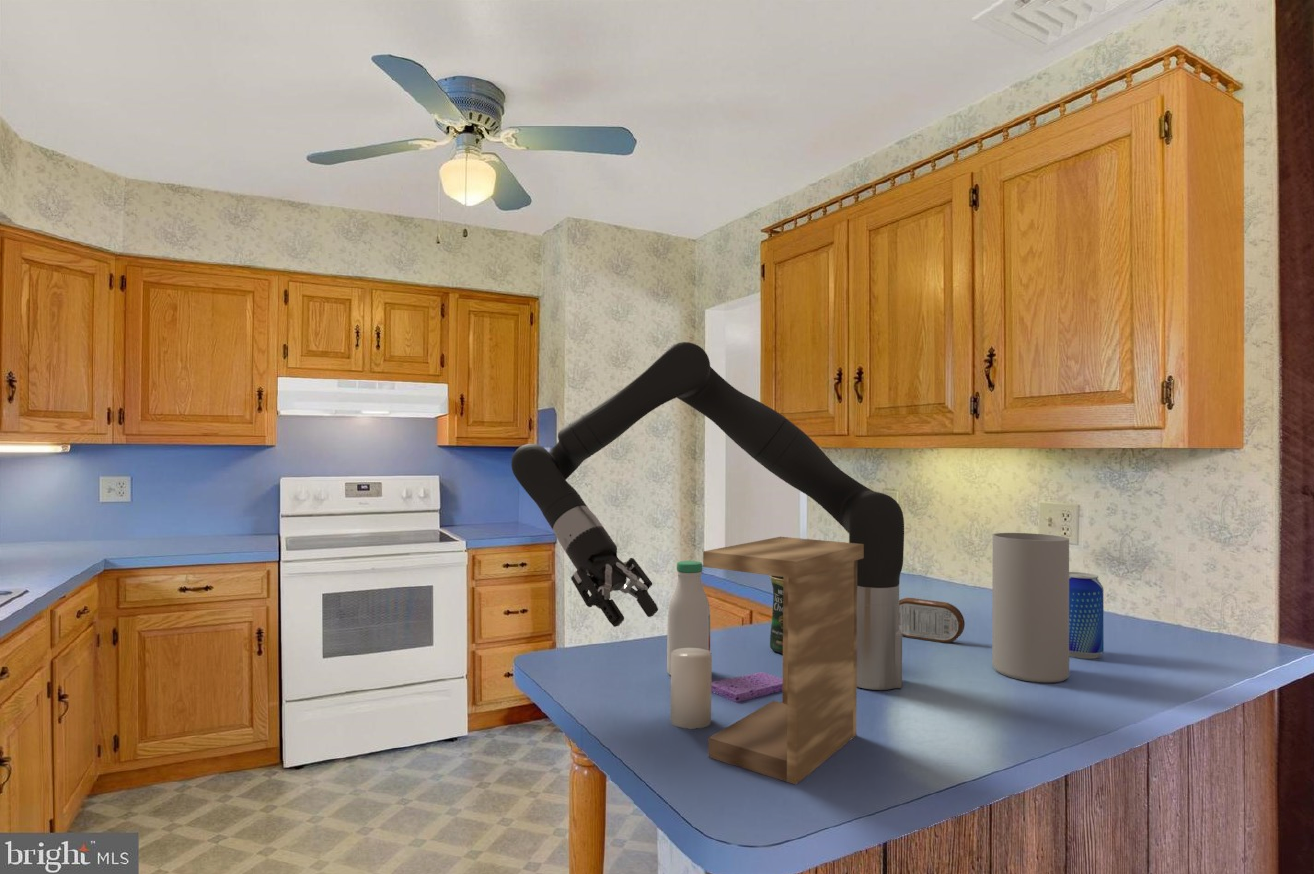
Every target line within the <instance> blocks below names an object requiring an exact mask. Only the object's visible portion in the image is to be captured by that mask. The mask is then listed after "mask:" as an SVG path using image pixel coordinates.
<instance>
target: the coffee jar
mask: <svg viewBox="0 0 1314 874" xmlns="http://www.w3.org/2000/svg"><path fill="white" fill-rule="evenodd" d="M770 581H771V585H772V591H773V593H772V594H773V596H772V597H773V598H772V600H773V601H772V615H771V626H770V634H769V635H770V637H769V647H770V649H771V650H772V651H773V652H774V651H775V652H777V653H779V654H782V655H783V577H780V576H772V575H770Z"/></svg>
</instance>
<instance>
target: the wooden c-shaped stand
mask: <svg viewBox="0 0 1314 874" xmlns="http://www.w3.org/2000/svg"><path fill="white" fill-rule="evenodd" d="M862 558H864V544H857V543H849V542H846V541H833V540H832V541H831V540H821V539H811V538H800V537H798V538H797V537H788V536H787V537H786V536H776V537H771V538H767V539H762V540H755V541H751V542H745V543H741V544H736V545H729V546H724V547H718V548H714V549H710V550H709V549H707V550H704V551H703V552H702V568H711V569H717V570H726V571H733V572H740V573H741V572H742V573H749V574H750V573H751V574H757V575H766V576H771V575H772V576H780V577H783V654H782V679H783V691H782V698H781V699H782V702H781V701H776V700H772V701H770V702H769V703H767V704H765V705H763V706H761V707H760V708H758V709H756V710H754V711H753V712H750V713H749V714H747V715H746V716H744V717H743V718H741V719H739V720H737V721H735V722H733V723H731V724H730V725H729V726H727V727H725V728H723V729H722V730H720V731H718V732H716V733H714V734H713V735H710V736H709V737H708V756H707V757H708V758H710V759H714V760H717V761H720V762H723V763H726V764H729V765H733V766H736V767H738V768H743V769H745V770H749V771H751V772H755V773H757V774H761V775H764V776H768V777H770V778H774V779H777V780H781V781H784V782H787V783H790V784H793V785H797V784H798V783H800V782H801V781H802V780H803V779H804V778H806V777H807V776H809V774H811V773H812V772H813V771H815V770H816V769H817V768H818V767H819V766H821V765H822V764H823V763H824V762H826V760H828V759H829V758H830V757H832V756H833V755H834V754H835V753H837V752H838V751H839V750H841V749H842V748H843V747H844V746H845V745H846V744H848V743H849V742H850V741H851V740H852V739H854V738H855V737H857V715H858V714H857V706H858V704H857V702H858V701H857V699H858V698H857V697H858V695H857V694H858V693H857V692H858V691H857V689H858V687H857V560H859V559H862ZM854 736H855V737H854ZM853 737H854V738H853ZM851 738H852V739H851ZM850 739H851V740H850ZM849 740H850V741H849ZM848 741H849V742H848ZM847 742H848V743H847ZM837 750H838V751H837ZM831 755H832V756H831Z"/></svg>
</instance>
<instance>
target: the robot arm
mask: <svg viewBox="0 0 1314 874" xmlns="http://www.w3.org/2000/svg"><path fill="white" fill-rule="evenodd" d="M674 399H677V400H680V401H681V402H683V403H685V404H686V405H688V406H689V407H691V408H693V409H694V410H696V411H697V412H698V413H700V414H702V415H703V416H705V417H707V418H708V419H709V420H710V421H711V422H713V423H714V424H715V425H716V426H717V427H719V429H720V430H721V431H723V433H724V434H726V436H727V437H728V438H729V439H731V441H732V442H734V444H736V445H737V446H738V447H739V448H741V449H742V450H743V451H744V452H745V453H747V455H749V456H750V457H751V458H752V459H754V460H755V461H756V462H758V464H760V465H761V466H763V468H765V469H766V470H768V471H769V472H770V473H772V474H773V475H775V476H776V478H777V477H778V479H780V480H782V481H784V482H785V483H786V484H788V485H789V486H791V487H793V488H794V489H797V490H798V491H799V492H801V493H803V494H805V495H806V496H808V497H809V498H811V499H812V500H813V501H814V502H816V504H818V505H820V506H821V507H822V508H823V509H824V510H825V512H827V513H828V514H829V515H830V516H831V517H833V519H835V520H836V522H837V523H838V524H839V525H840V526H842V528H843V529H844V530H845V531H846V532H847V533H848V536H849V537H848V543H857V544H864V558H862V559H859V560H857V688H859V689H860V688H862V689H866V690H874V691H876V690H877V691H886V690H891V689H902V688H903V635H902V632H901V631H900V629H899V600H900V579H901V578H900V577H901V573H902V570H903V567H904V566H903V565H904V553H905V552H904V548H905V543H904V542H905V518H904V513H903V510H902V507H901V506H900V504H899V503H898V502H897V500H896V499H895V498H893V497H892V496H890V495H888V494H887V493H882V492H879V491H874V490H873V489H870V488H869V487H867V486H865V485H864V484H862V483H860V482H859V481H857V480H856V479H854V478H852V477H851V475H848V474H847V473H845V472H844V471H843V470H841V469H840V468H839V467H838V466H837V465H836V464H835V463H834V462H833V461H832V460H831V459H830V458H829V457H828V455H827V454H826V453H825V452H824V451H823V450H822V449H821V448H820V447H819V445H818V444H817V443H816V442H814V440H813V439H812V438H811V437H810V436H809V435H807V434H806V433H805V431H803V430H801V428H799V427H798V426H797V425H795V424H794V423H793V422H792V421H790V420H789V419H788V418H786V417H785V416H784V415H782V414H781V413H779V412H778V411H776V410H774V409H773V408H771V407H770V406H768V405H766V404H764V403H762V402H760V401H758V400H757V399H754V397H753V398H752V397H750V396H748V395H747V394H745V393H743V392H741V391H740V390H738V389H737V388H735V387H734V386H733V385H731V384H730V382H728V381H727V380H726V379H724V378H723V377H722V376H721V375H720V374H719V373H718V372H716V370H715V369H714V368H713V367H711V362H710V359H709V355H708V354H707V351H705V350H704V349H703V348H702V347H701V346H700V345H698V344H696V343H693V342H689V341H683V342H677V343H674V344H671V345H670V346H669V347H667V349H665V350H664V352H663V353H662V354H661V355H660V356H659V357H658V358H657V359H656V360H654V362H653V363H651V364H650V365H649V366H648V368H646V369H645V370H644V371H643V372H641V373H640V374H639V375H638V376H637V377H636V378H635V379H633V380H632V381H631V382H629V383H627V385H625V386H624V387H622V388H621V389H620V390H618V391H617V392H614V393H613V394H612V395H610V396H609V397H607V398H605V399H604V400H603V401H601V402H599V403H598V404H596V405H594V406H593V407H592V408H590V409H589V410H587V411H586V412H584V413H582V414H580V415H579V416H577V417H576V418H575V419H573V420H572V421H570V422H569V423H568V424H565V426H563V427H562V428H561V429H560V430H559V432H558V433H557V439H558V442H557V443H556V444H555V445H554V446H553V447H552V448H550V450H547V449H546V448H544V447H543V446H541V445H540V444H536V443H526V444H523V445H521V446H519V447H518V448H517V449H516V450H515V452H514V453H513V455H512V457H511V463H510V464H511V470H512V474H513V475H514V477H515V478H516V480H517V481H518V483H519V485H520V486H521V487H522V488H523V489H524V491H525V492H526V493H527V495H528V496H530V498H531V499H532V501H534V503H535V504H536V505H537V507H538V509H540V511H541V513H542V516H543V517H544V519H545V520H546V522H547V523H548V525H549V526H550V527H551V529H552V531H553V533H554V534H555V537H556V538H557V539H556V540H557V541H558V543H559V544H560V546H561V548H562V549H563V550H564V552H565V554H566V555H567V557H568V558H569V560H570V561H571V563H572V564H573V566H574V567H575V570H576V571H575V572H574V573H573V575H572V576H571V577H570V579H571V581H572V583H573V584H574V587H575V588H576V590H577V592H578V593H579V595H580V597H581V598H582V601H584V603H585V605H586V606H587V607H588V608H592V607H596V608H598V609H599V610H601V611H602V613H603V614H604V616H605V618H606V619H607V621H608V622H609V623H610V624H611V625H612V626H613V628H616V627H619V626H620V625H621V624H622V623H623V622H624V621H625V616H624V615H623V613H622V611H621V610H620V608H619V606H617V603H615V601H614V599H611V592H612V591H620V592H621V593H623V594H629V595H630V596H632V597H633V598H635V599H636V601H637V604H638V605H639V607H640V608H641V609H642V610H643V612H644V614H645V615H646V617H648V618H652V617H654V615H655V614H656V613H657V612H658V611H659V608H658V605H657V603H656V602H655V600H654V599H653V598H652V596H651V594H650V593H649V592H648V590H649V589H650V588H651V587H652V586H653V582H652V580H651V579H650V578H649V577H648V575H647V574H646V572H644V570H643V569H642V567H641V566H640V564H638V562H637V561H636V559H634V557H629V559H628V560H627V561H625V562H623V561H622V560H621V559H620V558H619V557H618V547H617V545H616V543H615V542H614V540H613V539H612V537H611V536H610V534H609V533H608V531H607V530H606V529H605V528H604V526H603V524H602V523H601V521H600V520H599V519H598V517H597V516H596V515H595V514H594V513H593V511H591V509H590V508H589V507H588V505H587V504H586V503H585V501H584V500H583V498H582V497H581V495H580V494H579V493H578V491H577V490H576V489H575V488H574V487H573V486H572V485H571V484H570V483H569V482H568V481H567V479H569V477H571V475H572V474H573V473H574V472H575V471H576V470H577V469H578V468H579V467H580V466H581V465H582V463H583V462H585V460H587V459H589V458H590V457H592V456H594V455H595V454H596V453H597V452H599V451H601V450H603V449H604V448H605V447H607V446H608V445H610V444H611V443H612V442H614V441H615V440H616V439H618V438H619V437H620V436H622V435H623V434H624V433H626V432H627V431H628V430H629V429H630V428H632V426H633V425H635V424H636V423H637V422H638V421H640V420H641V419H642V418H643V417H645V416H647V414H649V413H651V412H652V411H654V410H655V409H657V408H658V407H660V406H662V405H664V404H665V403H668V402H670V401H672V400H674ZM627 579H628V582H627ZM640 579H641V580H642V581H640ZM633 587H635V589H634V588H633ZM589 592H590V594H589Z"/></svg>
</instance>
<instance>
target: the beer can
mask: <svg viewBox="0 0 1314 874" xmlns="http://www.w3.org/2000/svg"><path fill="white" fill-rule="evenodd" d="M1104 599H1105V598H1104V586H1103V585H1102V583H1101V581H1100V580H1099V576H1098V575H1096V574H1093V573H1089V572H1088V573H1086V572H1081V571H1080V572H1078V571H1069V658H1070V657H1071V658H1074V659H1075V658H1077V659H1082V660H1095V659H1098V658H1100V655H1101V654H1102V653H1104V644H1105V642H1104V638H1105V637H1104V634H1105V633H1104V631H1105V630H1104V628H1105V627H1104V625H1105V624H1104V623H1105V622H1104V621H1105V619H1104V615H1105V613H1104V611H1105V609H1104V605H1105V604H1104Z"/></svg>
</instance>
